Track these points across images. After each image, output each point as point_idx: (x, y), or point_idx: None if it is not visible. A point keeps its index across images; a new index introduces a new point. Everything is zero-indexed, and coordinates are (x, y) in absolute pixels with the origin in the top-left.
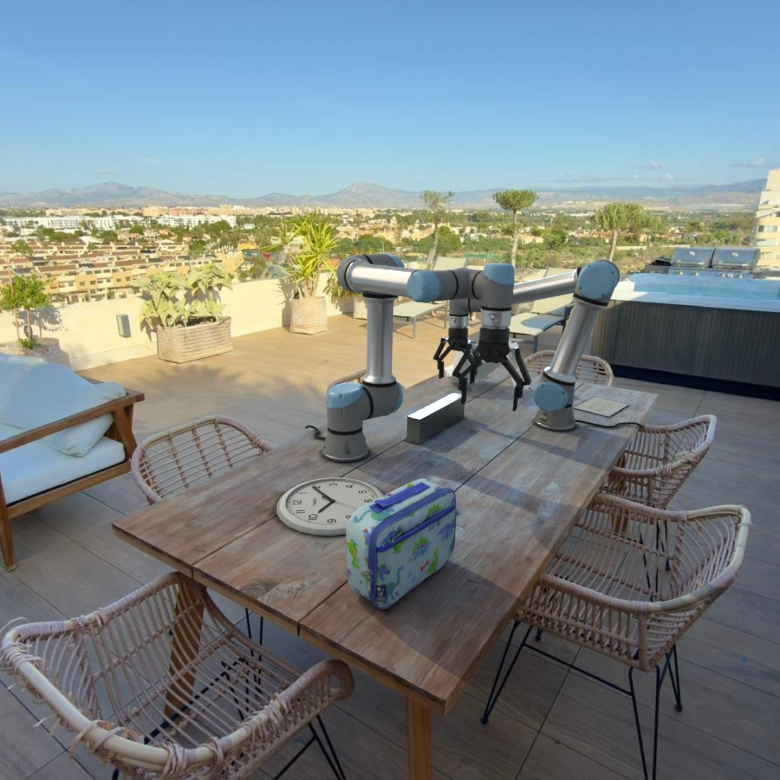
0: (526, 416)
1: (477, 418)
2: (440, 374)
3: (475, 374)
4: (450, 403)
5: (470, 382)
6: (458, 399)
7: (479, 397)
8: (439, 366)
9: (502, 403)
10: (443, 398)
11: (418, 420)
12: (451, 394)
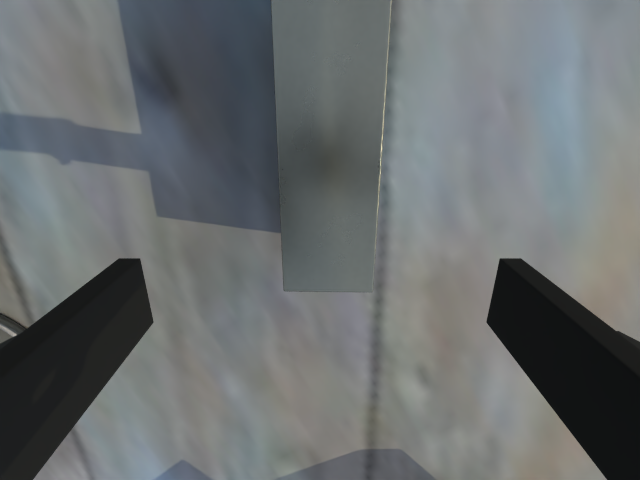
0: (108, 382)
1: (240, 257)
2: (527, 282)
3: (3, 345)
4: (273, 60)
5: (123, 265)
6: (280, 196)
7: (357, 461)
8: (632, 350)
9: (254, 450)
10: (375, 135)
11: None
12: (367, 254)
